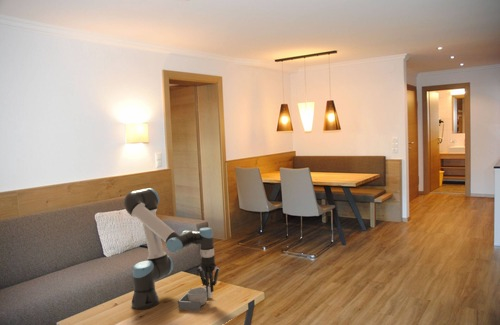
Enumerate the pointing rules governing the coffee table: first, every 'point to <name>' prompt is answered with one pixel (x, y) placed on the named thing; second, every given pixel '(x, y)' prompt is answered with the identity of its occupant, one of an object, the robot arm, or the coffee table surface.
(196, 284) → the coffee table surface
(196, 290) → the teacup
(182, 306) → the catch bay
